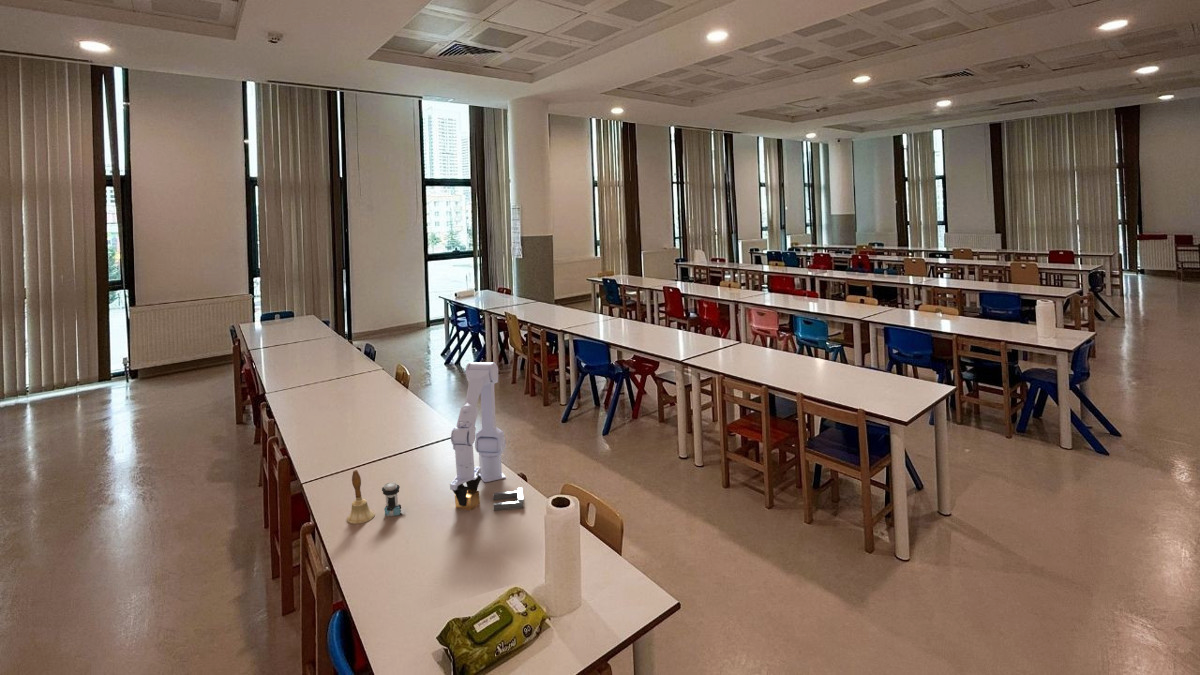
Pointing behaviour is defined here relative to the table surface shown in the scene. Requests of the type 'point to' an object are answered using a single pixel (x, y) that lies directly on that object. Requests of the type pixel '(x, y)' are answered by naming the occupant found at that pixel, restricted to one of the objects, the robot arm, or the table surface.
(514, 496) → the guide channel
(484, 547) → the table surface
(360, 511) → the hand bell
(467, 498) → the block
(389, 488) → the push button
